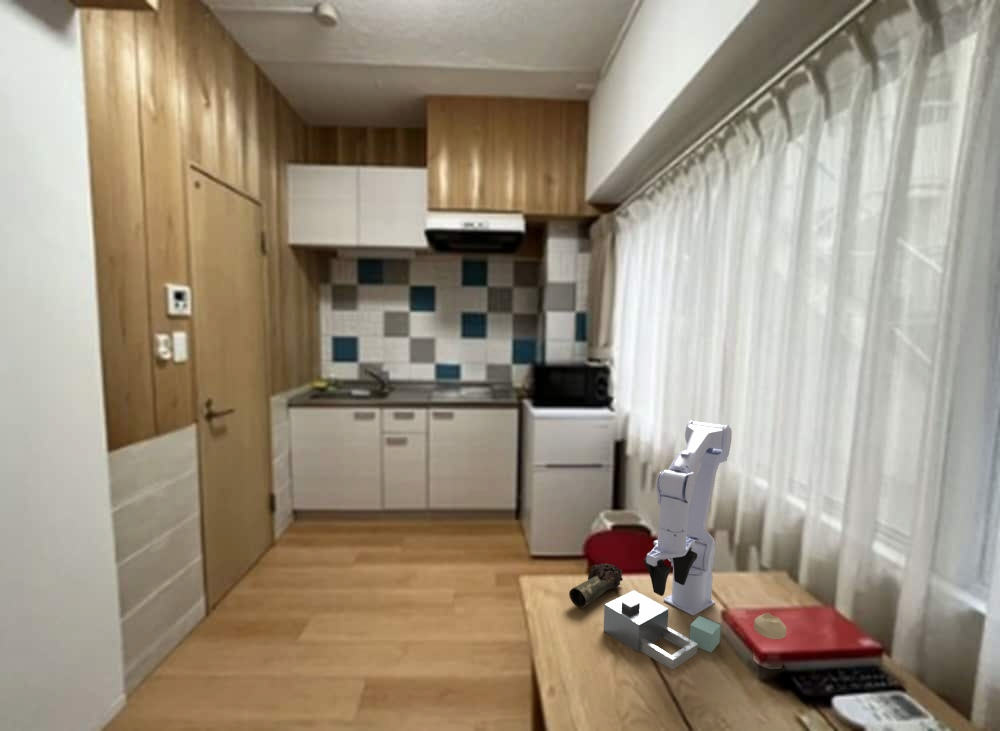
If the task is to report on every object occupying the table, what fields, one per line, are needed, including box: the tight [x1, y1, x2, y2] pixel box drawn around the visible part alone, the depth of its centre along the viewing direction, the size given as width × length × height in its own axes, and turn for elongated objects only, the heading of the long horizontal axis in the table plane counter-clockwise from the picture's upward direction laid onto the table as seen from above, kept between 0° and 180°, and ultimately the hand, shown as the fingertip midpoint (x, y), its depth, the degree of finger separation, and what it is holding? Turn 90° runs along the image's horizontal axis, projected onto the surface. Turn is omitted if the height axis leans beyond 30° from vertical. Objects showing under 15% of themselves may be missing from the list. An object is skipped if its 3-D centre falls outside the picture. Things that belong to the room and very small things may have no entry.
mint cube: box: [688, 614, 722, 653], centre depth 106 cm, size 4×4×5 cm
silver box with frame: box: [603, 590, 699, 670], centre depth 107 cm, size 13×16×8 cm
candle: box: [753, 612, 787, 639], centre depth 99 cm, size 6×6×10 cm
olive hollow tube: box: [568, 563, 623, 609], centre depth 124 cm, size 18×7×6 cm, turn 136°
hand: (669, 588), depth 109 cm, fingers open, 7 cm apart
